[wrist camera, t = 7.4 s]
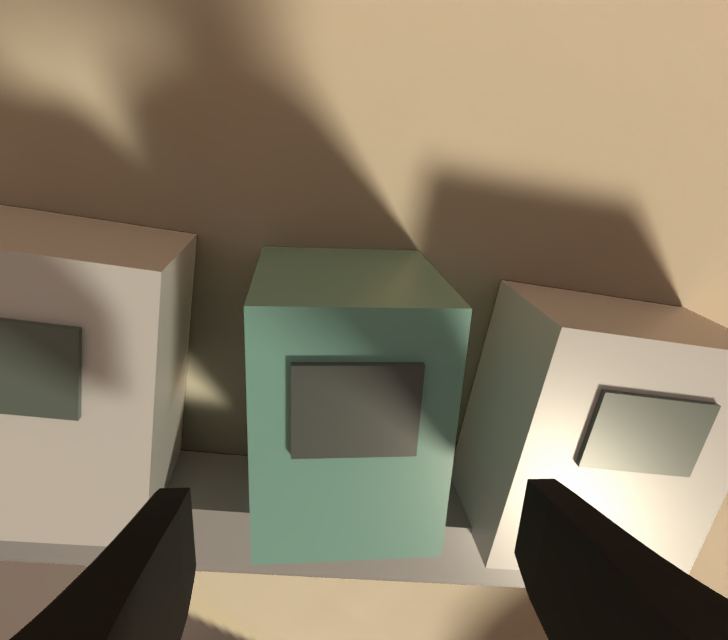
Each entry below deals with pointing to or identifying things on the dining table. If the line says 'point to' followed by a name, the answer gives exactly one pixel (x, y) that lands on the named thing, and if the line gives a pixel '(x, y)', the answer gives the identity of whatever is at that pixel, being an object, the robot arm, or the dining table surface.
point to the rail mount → (230, 472)
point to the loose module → (351, 403)
